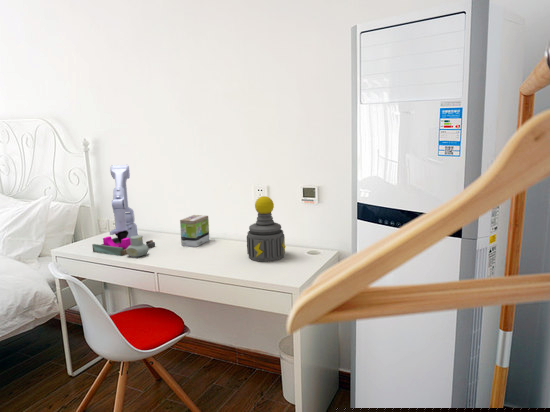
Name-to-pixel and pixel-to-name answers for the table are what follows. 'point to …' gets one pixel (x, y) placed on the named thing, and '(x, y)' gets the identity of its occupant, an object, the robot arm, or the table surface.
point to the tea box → (194, 230)
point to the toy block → (124, 243)
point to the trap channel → (116, 248)
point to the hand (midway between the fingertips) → (122, 244)
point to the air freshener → (137, 247)
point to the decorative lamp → (265, 234)
